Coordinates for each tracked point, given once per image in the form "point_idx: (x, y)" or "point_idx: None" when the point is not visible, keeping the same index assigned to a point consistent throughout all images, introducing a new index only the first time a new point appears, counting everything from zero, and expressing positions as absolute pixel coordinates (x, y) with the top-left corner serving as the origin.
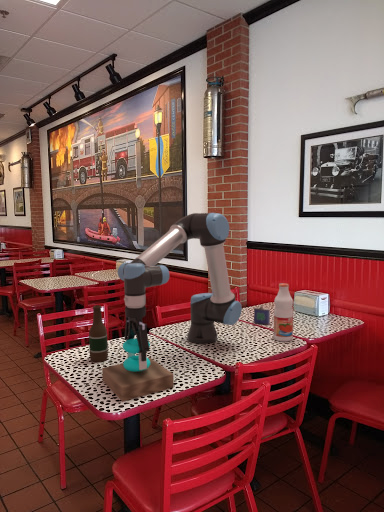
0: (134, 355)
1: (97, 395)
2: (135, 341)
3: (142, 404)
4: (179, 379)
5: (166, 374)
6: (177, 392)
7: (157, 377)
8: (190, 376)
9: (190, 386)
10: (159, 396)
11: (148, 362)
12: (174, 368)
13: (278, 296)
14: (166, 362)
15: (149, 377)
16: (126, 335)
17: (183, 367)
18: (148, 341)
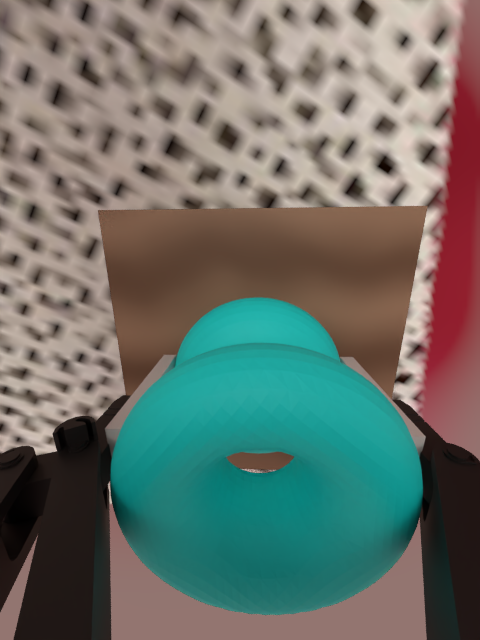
0: (168, 369)
1: (262, 470)
2: (195, 488)
3: (419, 387)
4: (328, 140)
5: (400, 245)
6: (438, 226)
7: (398, 307)
8: (334, 55)
9: (434, 131)
10: (412, 310)
11: (323, 335)
12: (185, 85)
13: None
14: (82, 83)
15: (370, 342)
16: (17, 566)
17: (198, 18)
18: (322, 388)
